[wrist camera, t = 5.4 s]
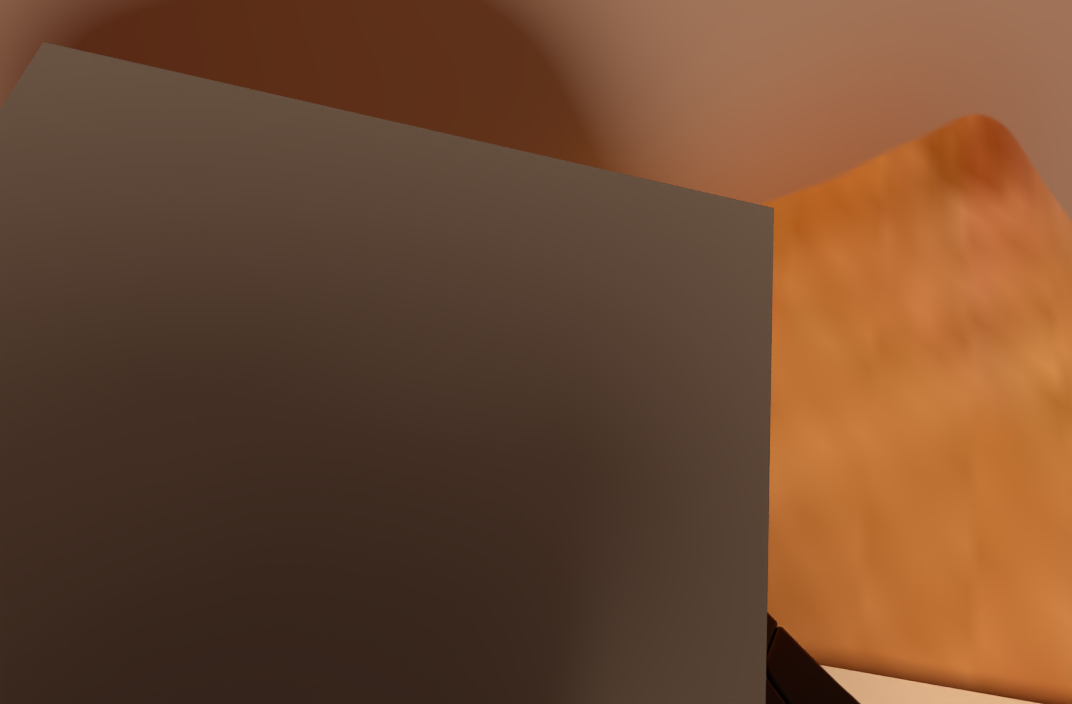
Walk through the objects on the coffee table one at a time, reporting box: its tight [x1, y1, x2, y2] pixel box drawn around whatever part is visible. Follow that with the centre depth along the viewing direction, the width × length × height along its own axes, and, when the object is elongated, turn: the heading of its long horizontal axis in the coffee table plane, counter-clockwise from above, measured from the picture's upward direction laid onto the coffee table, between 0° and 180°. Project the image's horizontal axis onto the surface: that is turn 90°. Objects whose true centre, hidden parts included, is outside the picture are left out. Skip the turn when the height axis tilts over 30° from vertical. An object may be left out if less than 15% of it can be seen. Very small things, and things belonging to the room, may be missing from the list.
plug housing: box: [0, 42, 774, 704], centre depth 9 cm, size 5×5×12 cm
